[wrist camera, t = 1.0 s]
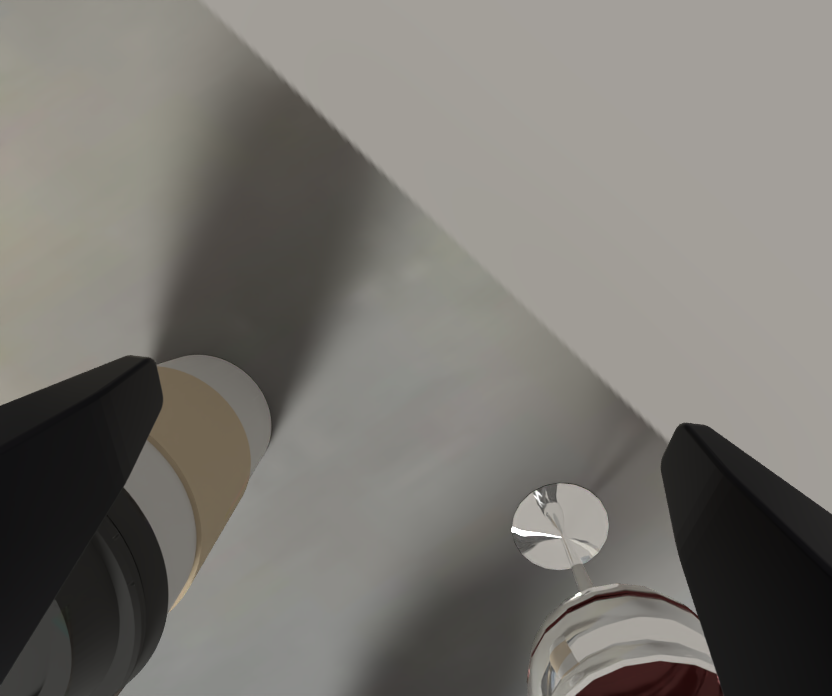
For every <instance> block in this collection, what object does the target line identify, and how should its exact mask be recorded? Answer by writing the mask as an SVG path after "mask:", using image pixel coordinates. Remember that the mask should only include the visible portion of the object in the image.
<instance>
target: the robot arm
mask: <svg viewBox="0 0 832 696" xmlns="http://www.w3.org/2000/svg"><path fill="white" fill-rule="evenodd" d="M162 406H163V392H162V387H161V383H160V378H159V373H158V369H157V365H156V363H155V361H154V360H153V359H151V358H149V357H141V356H133V355H129V356H124V357H122V358H119V359H117V360H114V361H112V362H109V363H107V364H104V365H102V366H99V367H97V368H94V369H92V370H89V371H87V372H84V373H82V374H79V375H76V376H74V377H71V378H69V379H66V380H64V381H61V382H59V383H56V384H54V385H51V386H49V387H46V388H44V389H41V390H39V391H36V392H34V393H31V394H29V395H26V396H24V397H21V398H18V399H16V400H13V401H11V402H8V403H6V404H3V405H1V406H0V686H1V684H2V683H3V681H4V679H5V678H6V676H7V675H8V673H9V671H10V670H11V668H12V667H13V665H14V663H15V662H16V660H17V659H18V657H19V655H20V654H21V652H22V650H23V649H24V647H25V646H26V644H27V642H28V641H29V639H30V638H31V636H32V634H33V633H34V631H35V630H36V628H37V626H38V625H39V623H40V621H41V620H42V618H43V617H44V615H45V613H46V612H47V610H48V609H49V607H50V605H51V604H52V602H53V601H54V599H55V597H56V596H57V594H58V592H59V591H60V589H61V588H62V586H63V584H64V583H65V581H66V580H67V578H68V576H69V575H70V573H71V571H72V570H73V568H74V567H75V565H76V563H77V562H78V560H79V559H80V557H81V555H82V554H83V552H84V551H85V549H86V547H87V546H88V544H89V542H90V541H91V539H92V538H93V536H94V534H95V533H96V531H97V530H98V528H99V526H100V525H101V523H102V522H103V520H104V518H105V517H106V515H107V513H108V512H109V510H110V509H111V507H112V505H113V504H114V502H115V501H116V499H117V497H118V496H119V494H120V492H121V491H122V489H123V487H124V486H125V484H126V482H127V480H128V478H129V476H130V474H131V472H132V470H133V468H134V466H135V464H136V462H137V460H138V458H139V456H140V453H141V451H142V449H143V447H144V445H145V443H146V441H147V439H148V437H149V435H150V432H151V430H152V428H153V426H154V424H155V422H156V420H157V418H158V416H159V414H160V411H161V409H162ZM661 473H662V478H663V483H664V488H665V493H666V498H667V503H668V508H669V513H670V518H671V523H672V528H673V533H674V538H675V542H676V546H677V551H678V555H679V558H680V561H681V565H682V568H683V571H684V574H685V577H686V580H687V584H688V587H689V590H690V593H691V596H692V599H693V602H694V605H695V608H696V611H697V615H698V618H699V621H700V624H701V627H702V630H703V633H704V636H705V639H706V642H707V646H708V649H709V652H710V655H711V658H712V661H713V664H714V667H715V670H716V673H717V677H718V680H719V683H720V686H721V689H722V692H723V695H724V696H832V514H831V513H829V512H828V511H826V510H825V509H824V508H822V507H821V506H819V505H818V504H816V503H815V502H814V501H812V500H811V499H810V498H808V497H807V496H805V495H804V494H803V493H801V492H800V491H798V490H797V489H796V488H794V487H793V486H791V485H790V484H789V483H787V482H786V481H784V480H783V479H782V478H780V477H779V476H777V475H776V474H774V473H773V472H772V471H770V470H769V469H767V468H766V467H765V466H763V465H762V464H761V463H759V462H758V461H756V460H755V459H754V458H752V457H751V456H749V455H748V454H746V453H745V452H744V451H742V450H741V449H739V448H738V447H737V446H735V445H734V444H732V443H731V442H730V441H728V440H727V439H725V438H724V437H723V436H721V435H720V434H718V433H717V432H715V431H714V430H713V429H711V428H710V427H708V426H706V425H700V424H692V423H682V424H680V425H679V426H678V427H677V428H676V430H675V432H674V434H673V436H672V438H671V440H670V442H669V444H668V447H667V449H666V451H665V453H664V455H663V457H662V461H661Z"/></svg>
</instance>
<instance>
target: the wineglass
mask: <svg viewBox="0 0 832 696" xmlns="http://www.w3.org/2000/svg"><path fill="white" fill-rule="evenodd" d="M608 528H609V523H608V517H607V512H606V510H605V508H604V506H603V505H602V503H601V501H600V500H599V499H598V498H597V497H596V496H595V495H593V494H592V493H591V492H590V491H589V490H586V489H584V488H582V487H579V486H577V485H572V484H563V483H558V484H553V485H547V486H544V487H542V488H540V489H538V490H536V491H534V492H532V493H530V494H529V495H528V496H527V497H526V498H525V499H524V500H523V501H522V502H521V503H520V505H519V507H518V509H517V511H516V513H515V515H514V519H513V525H512V532H513V537H514V542H515V544H516V545H517V547H518V549H519V550H520V552H521V554H522V555H524V556H525V557H526V558H527V559H528V560H530V561H531V562H532V563H534V564H536V565H539V566H541V567H543V568H546V569H555V570H564V569H570V568H571V570H572V573H573V575H574V578H575V581H576V584H577V587H578V590H579V593H578V594H576V595H574V596H572V597H569V598H567V599H565V600H564V601H563V602H562V603H561V604H560V605H559V606H558V607H556V608H555V609H554V610H553V611H552V612H551V613H550V614H549V615H548V616H547V617H546V618H545V620H544V622H543V624H542V625H541V627H540V629H539V631H538V632H537V634H536V636H535V638H534V642H533V645H532V649H531V654H530V660H529V666H528V672H527V695H528V696H724V695H723V692H722V689H721V686H720V683H719V680H718V677H717V673H716V670H715V667H714V664H713V661H712V658H711V655H710V652H709V649H708V646H707V642H706V639H705V636H704V633H703V630H702V627H701V624H700V621H699V618H698V616H697V615H696V614H695V613H694V612H693V611H692V610H690V609H689V608H688V607H687V606H685V605H684V604H682V603H679V602H678V601H676V600H674V599H672V598H671V597H669V596H667V595H664V594H662V593H659V592H657V591H655V590H652V589H650V588H648V587H645V586H637V585H628V584H619V583H616V584H610V585H604V586H598V587H594V585H593V583H592V581H591V579H590V578H589V576H588V574H587V572H586V570H585V568H584V566H583V564H584V563H586V562H588V561H589V560H591V559H592V558H593V557H594V556H595V555H596V554H597V553H598V552H599V551H600V550H601V548H602V546H603V544H604V543H605V541H606V539H607V534H608Z"/></svg>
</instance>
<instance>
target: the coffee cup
mask: <svg viewBox="0 0 832 696" xmlns="http://www.w3.org/2000/svg"><path fill="white" fill-rule="evenodd" d="M157 369H158V373H159V378H160V383H161V387H162V392H163V406H162V409H161V411H160V414H159V416H158V418H157V420H156V422H155V424H154V426H153V428H152V430H151V432H150V435H149V437H148V439H147V441H146V443H145V445H144V447H143V449H142V451H141V453H140V456H139V458H138V460H137V462H136V464H135V466H134V468H133V470H132V472H131V474H130V476H129V478H128V480H127V482H126V484H125V486H124V487H123V489H122V491H121V492H120V494H119V496H118V497H117V499H116V501H115V502H114V504H113V505H112V507H111V509H110V510H109V512H108V513H107V515H106V517H105V518H104V520H103V522H102V523H101V525H100V526H99V528H98V530H97V531H96V533H95V534H94V536H93V538H92V539H91V541H90V542H89V544H88V546H87V547H86V549H85V551H84V552H83V554H82V555H81V557H80V559H79V560H78V562H77V563H76V565H75V567H74V568H73V570H72V571H71V573H70V575H69V576H68V578H67V580H66V581H65V583H64V584H63V586H62V588H61V589H60V591H59V592H58V594H57V596H56V597H55V599H54V601H53V602H52V604H51V605H50V607H49V609H48V610H47V612H46V613H45V615H44V617H43V618H42V620H41V621H40V623H39V625H38V626H37V628H36V630H35V631H34V633H33V634H32V636H31V638H30V639H29V641H28V642H27V644H26V646H25V647H24V649H23V650H22V652H21V654H20V655H19V657H18V659H17V660H16V662H15V663H14V665H13V667H12V668H11V670H10V671H9V673H8V675H7V676H6V678H5V679H4V681H3V683H2V684H1V686H0V696H118V695H119V693H120V692H121V691H122V689H123V688H124V687H125V685H126V684H127V683H128V682H130V681H131V680H132V679H133V678H134V677H135V676H136V675H137V674H138V673H139V672H140V671H141V670H142V668H143V667H144V666H145V665H146V663H147V662H148V661H149V659H150V658H151V656H152V654H153V653H154V651H155V649H156V647H157V645H158V643H159V641H160V638H161V635H162V633H163V629H164V626H165V622H166V617H167V614H168V613H169V612H170V611H171V610H172V609H173V608H174V607H175V606H176V605H177V604H178V602H179V601H180V600H181V599H182V598H183V596H184V595H185V593H186V592H187V590H188V588H189V587H190V585H191V583H192V582H193V580H194V578H195V576H196V575H197V573H198V571H199V570H200V568H201V566H202V564H203V563H204V561H205V559H206V558H207V556H208V554H209V553H210V551H211V549H212V547H213V546H214V544H215V542H216V541H217V539H218V537H219V535H220V534H221V532H222V530H223V529H224V527H225V525H226V524H227V522H228V520H229V518H230V517H231V515H232V513H233V512H234V510H235V508H236V506H237V505H238V503H239V501H240V500H241V498H242V496H243V494H244V492H245V490H246V487H247V484H248V481H249V478H250V477H251V475H252V473H253V472H254V470H255V468H256V467H257V465H258V463H259V462H260V460H261V459H262V457H263V455H264V453H265V452H266V449H267V447H268V444H269V441H270V437H271V415H270V411H269V407H268V404H267V402H266V399H265V397H264V395H263V393H262V392H261V390H260V388H259V387H258V386H257V384H256V383H255V382H254V381H253V380H252V379H251V377H250V376H249V375H247V374H246V373H245V372H244V371H243V370H241V369H240V368H238V367H237V366H235V365H234V364H232V363H230V362H228V361H226V360H223V359H220V358H217V357H213V356H208V355H188V356H183V357H180V358H176V359H173V360H170V361H166V362H163V363H160V364H157Z"/></svg>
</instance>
